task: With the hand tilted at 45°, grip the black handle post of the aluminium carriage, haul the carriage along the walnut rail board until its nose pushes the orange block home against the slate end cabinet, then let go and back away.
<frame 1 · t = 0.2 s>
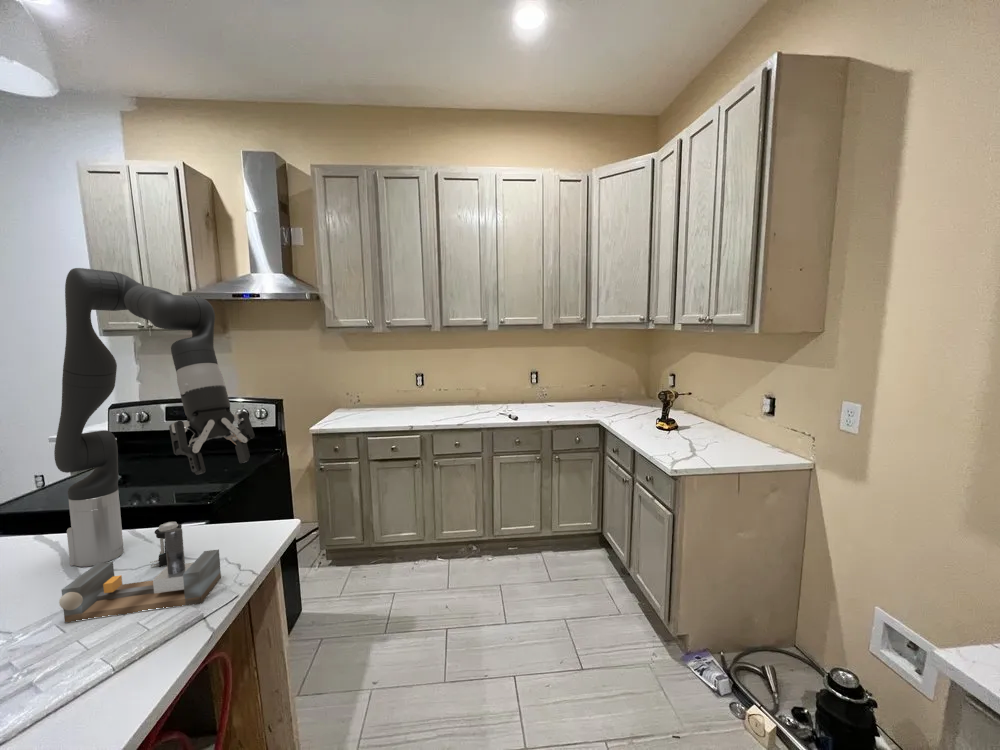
hand: (223, 467, 82), 31 cm above the worktop, tool tilted 20°, fingers open, 8 cm apart
carriage: (175, 557, 91), point 9 cm above the worktop, slide at 5.5 cm
rail base: (149, 598, 91), on the worktop
orange block: (112, 584, 89), point 4 cm above the worktop, slide at 1.5 cm
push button: (167, 564, 105), on the worktop
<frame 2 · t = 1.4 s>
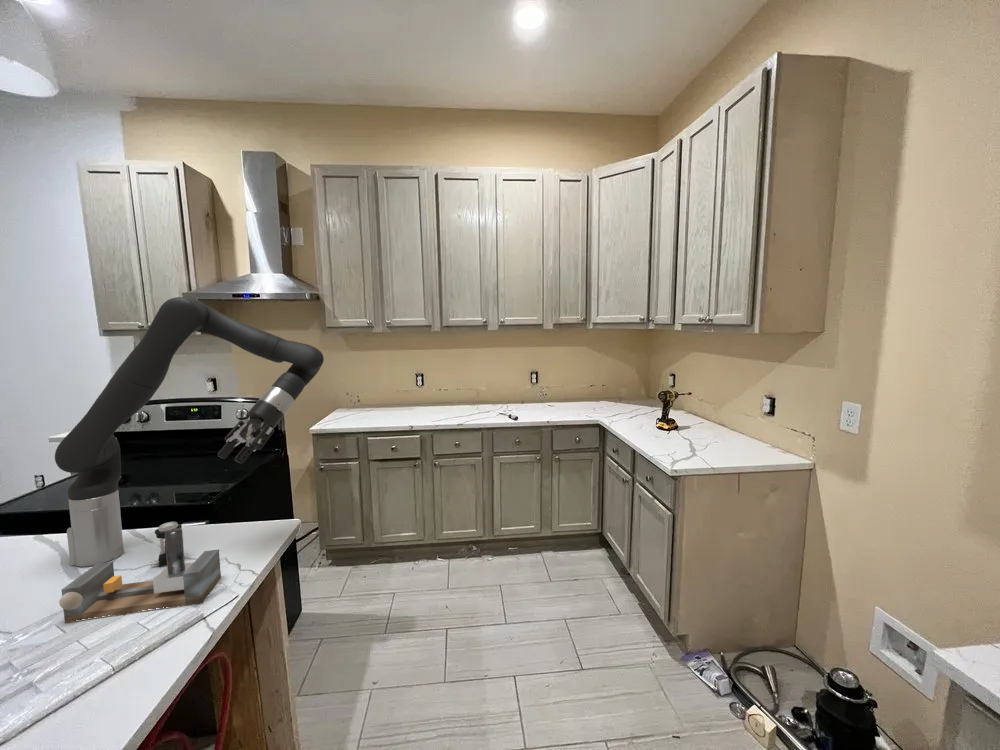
hand: (229, 459, 103), 27 cm above the worktop, tool tilted 45°, fingers open, 8 cm apart
nothing on the worktop moved.
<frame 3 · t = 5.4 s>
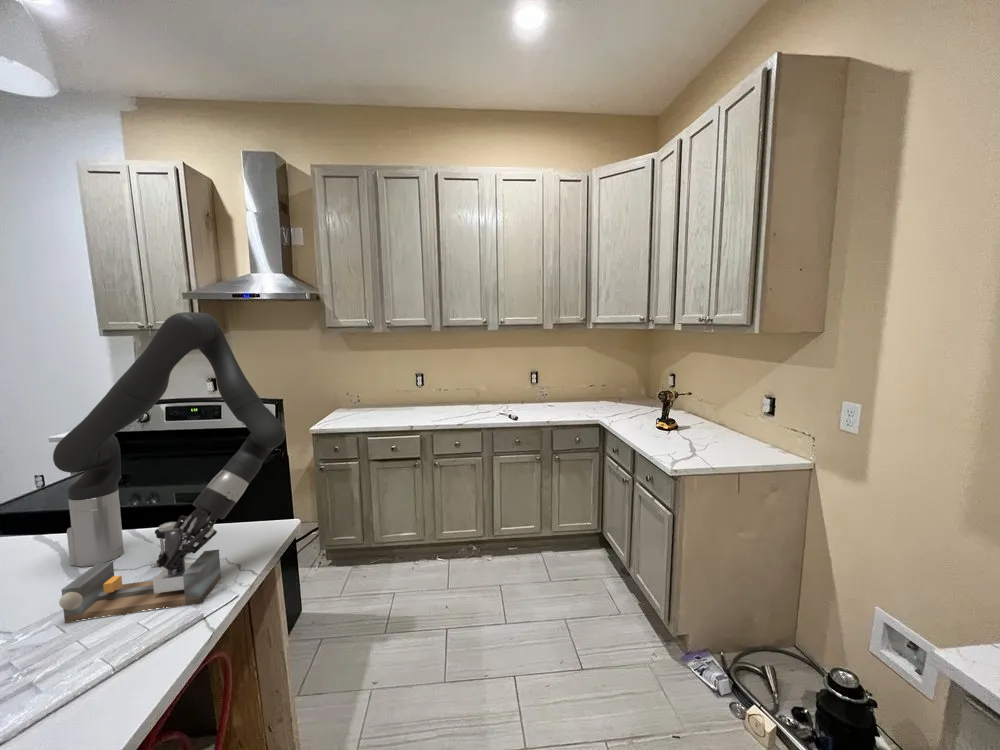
hand: (164, 566, 90), 7 cm above the worktop, tool tilted 45°, fingers closed on carriage, 3 cm apart
carriage: (175, 557, 91), point 9 cm above the worktop, slide at 5.5 cm, touching gripper
everything else where it was.
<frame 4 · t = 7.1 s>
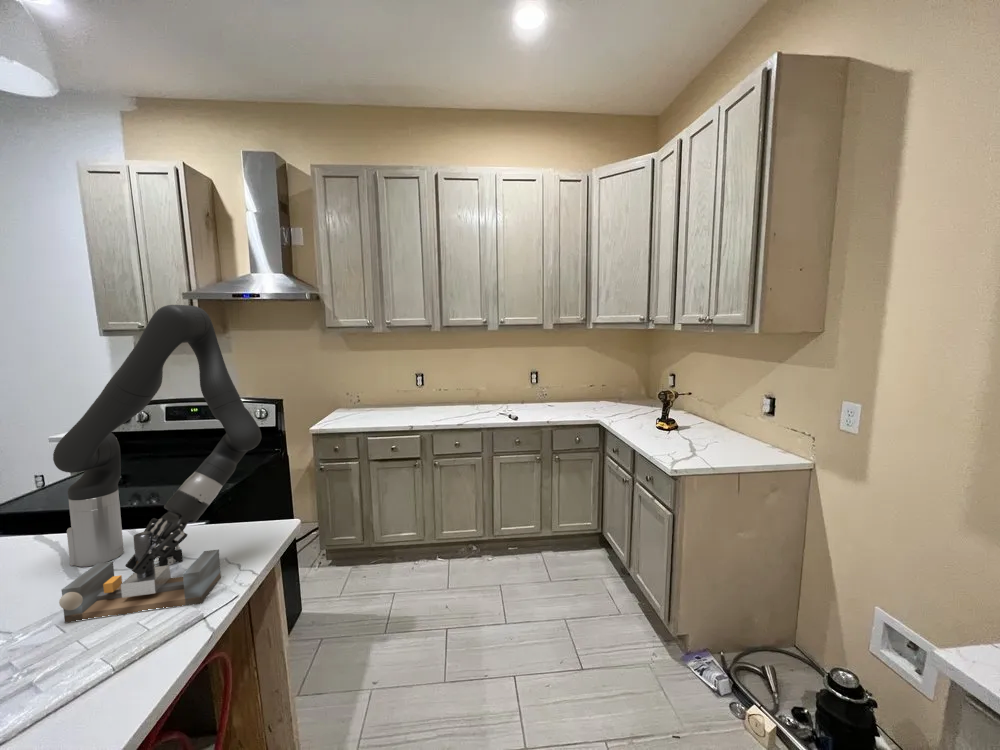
hand: (133, 570, 88), 7 cm above the worktop, tool tilted 45°, fingers closed on carriage, 3 cm apart
carriage: (144, 561, 90), point 9 cm above the worktop, slide at -0.3 cm, touching gripper
everything else where it was.
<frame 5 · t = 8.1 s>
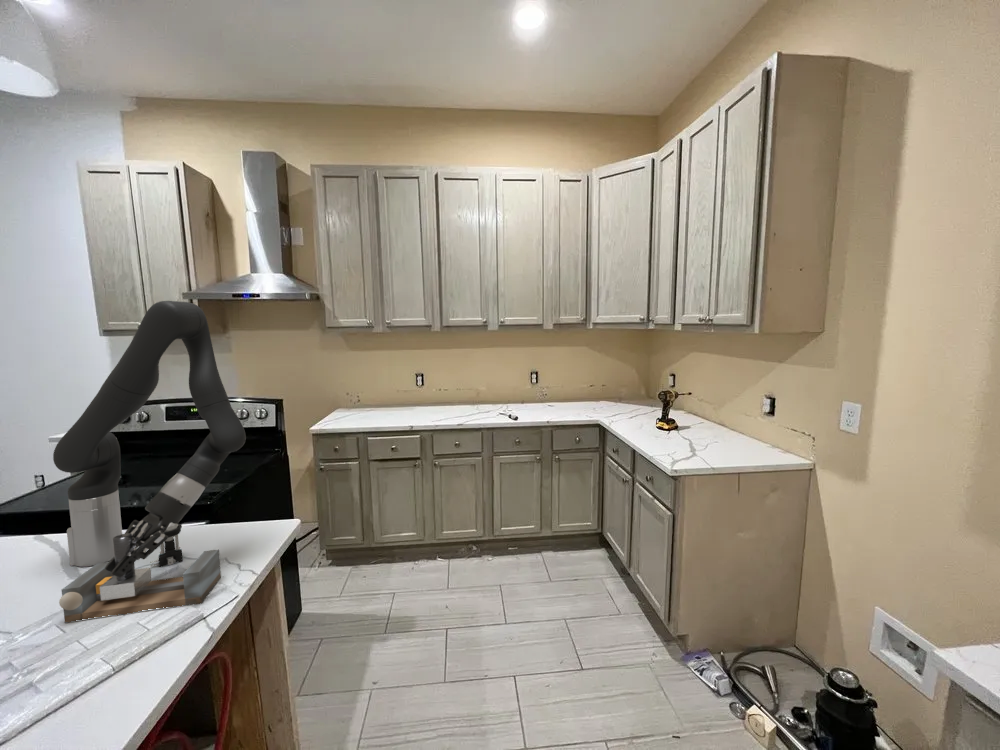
hand: (112, 572, 87), 7 cm above the worktop, tool tilted 45°, fingers closed on carriage, 3 cm apart
carriage: (124, 563, 89), point 9 cm above the worktop, slide at -3.9 cm, touching orange block, gripper
orange block: (105, 585, 88), point 4 cm above the worktop, slide at 0.2 cm, touching carriage
everything else where it was.
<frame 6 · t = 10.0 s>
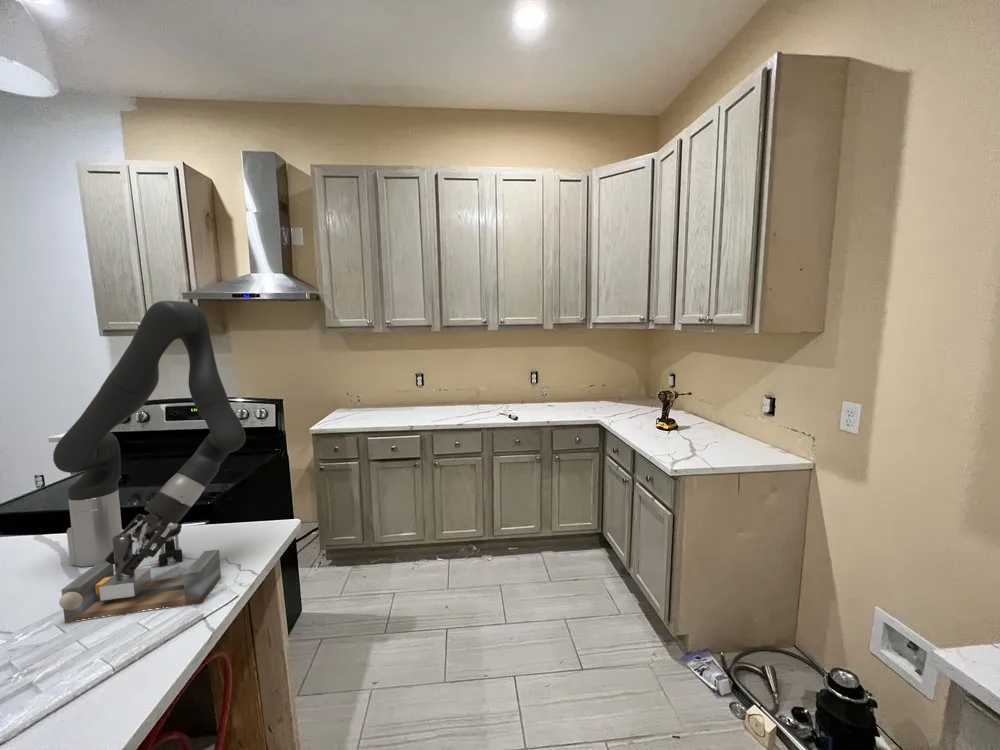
hand: (116, 568, 88), 8 cm above the worktop, tool tilted 45°, fingers open, 8 cm apart
carriage: (124, 563, 89), point 9 cm above the worktop, slide at -4.0 cm, touching orange block
everything else where it was.
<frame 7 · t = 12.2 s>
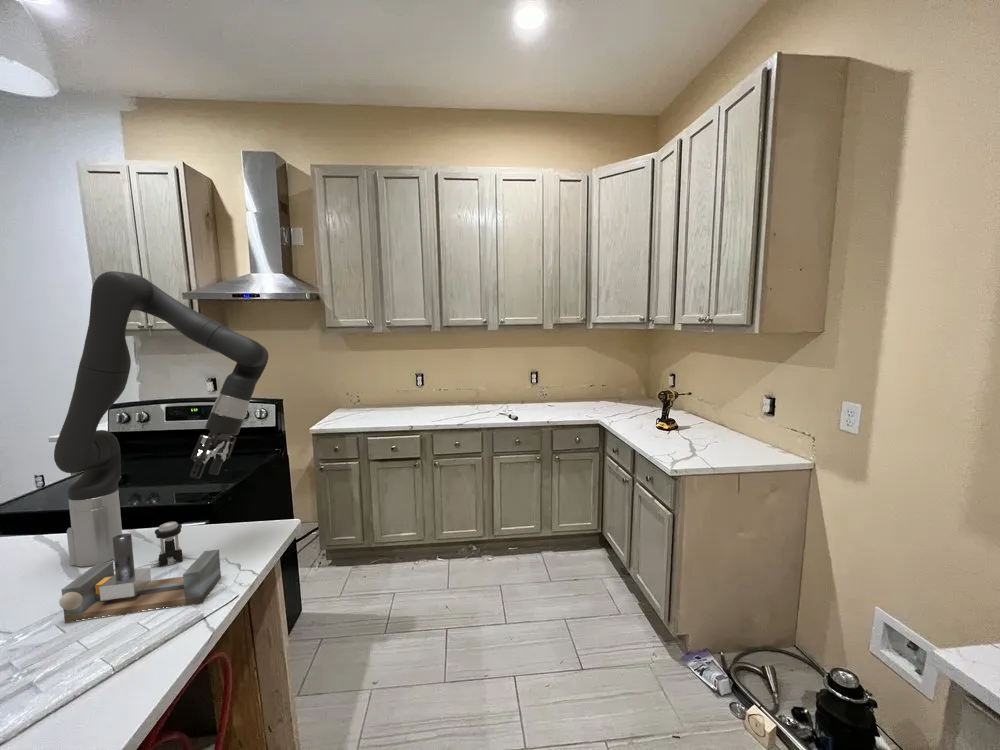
hand: (203, 476, 105), 22 cm above the worktop, tool tilted 20°, fingers open, 8 cm apart
nothing on the worktop moved.
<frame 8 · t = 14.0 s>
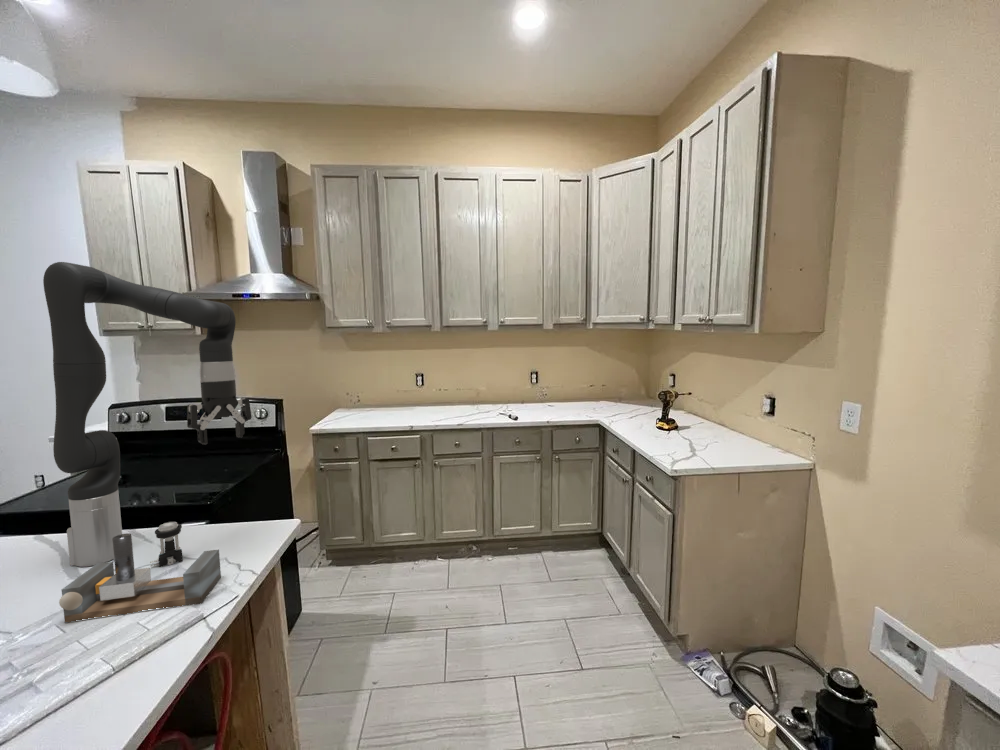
hand: (222, 440, 109), 30 cm above the worktop, tool pointing down, fingers open, 8 cm apart
nothing on the worktop moved.
at the end: carriage slide at -4.0 cm; orange block slide at 0.1 cm; the gripper is holding nothing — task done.
